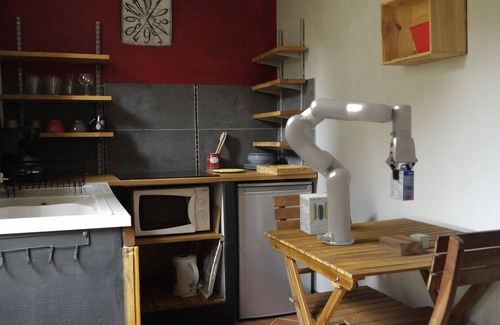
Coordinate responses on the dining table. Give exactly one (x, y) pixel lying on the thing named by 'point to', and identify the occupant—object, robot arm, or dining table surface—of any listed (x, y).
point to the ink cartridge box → (402, 185)
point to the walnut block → (401, 245)
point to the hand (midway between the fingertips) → (401, 178)
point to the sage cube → (422, 239)
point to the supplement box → (314, 213)
